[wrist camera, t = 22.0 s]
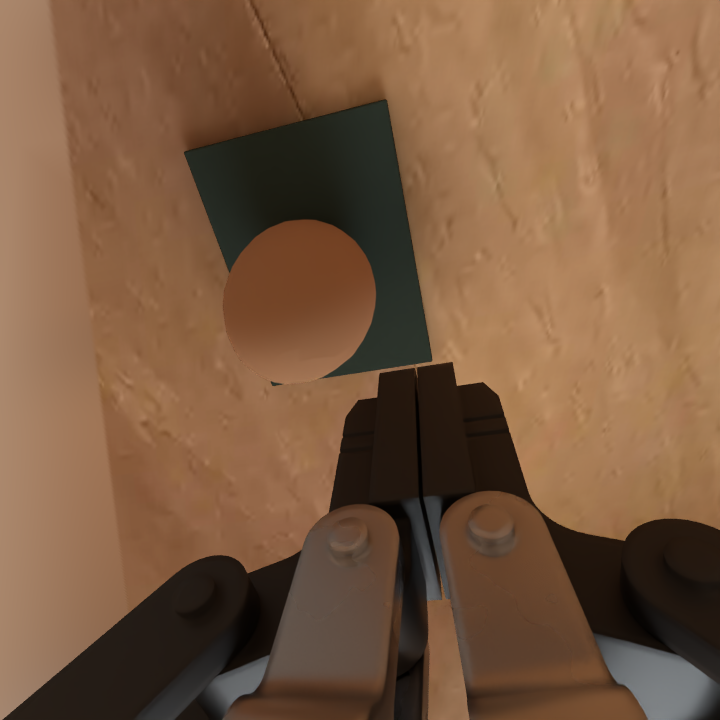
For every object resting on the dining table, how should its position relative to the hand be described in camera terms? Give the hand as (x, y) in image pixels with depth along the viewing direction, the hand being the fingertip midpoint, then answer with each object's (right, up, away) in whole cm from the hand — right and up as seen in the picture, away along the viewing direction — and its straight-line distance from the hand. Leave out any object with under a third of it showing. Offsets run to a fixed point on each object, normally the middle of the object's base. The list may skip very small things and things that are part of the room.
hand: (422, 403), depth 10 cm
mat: (-3, +5, +11) cm, 12 cm away
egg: (-3, +5, +10) cm, 12 cm away
